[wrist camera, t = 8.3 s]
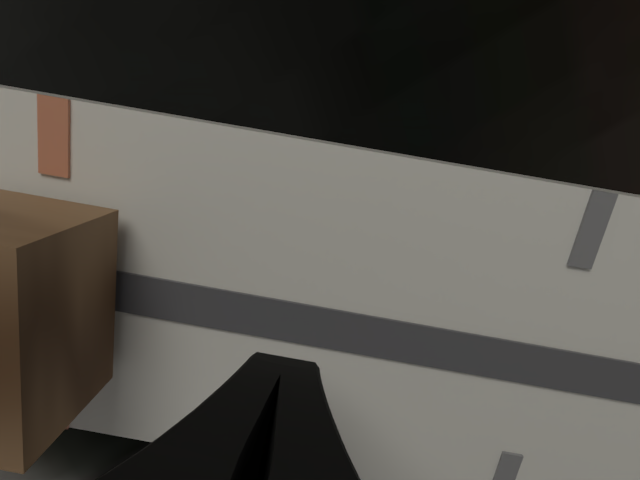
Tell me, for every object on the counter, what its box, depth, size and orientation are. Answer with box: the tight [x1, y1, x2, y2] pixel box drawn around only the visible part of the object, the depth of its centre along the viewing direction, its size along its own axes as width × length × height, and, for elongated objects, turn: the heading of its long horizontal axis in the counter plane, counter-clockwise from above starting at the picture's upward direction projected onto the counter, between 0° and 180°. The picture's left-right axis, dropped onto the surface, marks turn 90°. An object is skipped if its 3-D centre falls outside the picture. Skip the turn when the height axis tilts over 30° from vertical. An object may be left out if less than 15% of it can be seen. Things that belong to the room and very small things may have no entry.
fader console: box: [0, 85, 640, 480], centre depth 13 cm, size 10×28×2 cm, turn 81°
